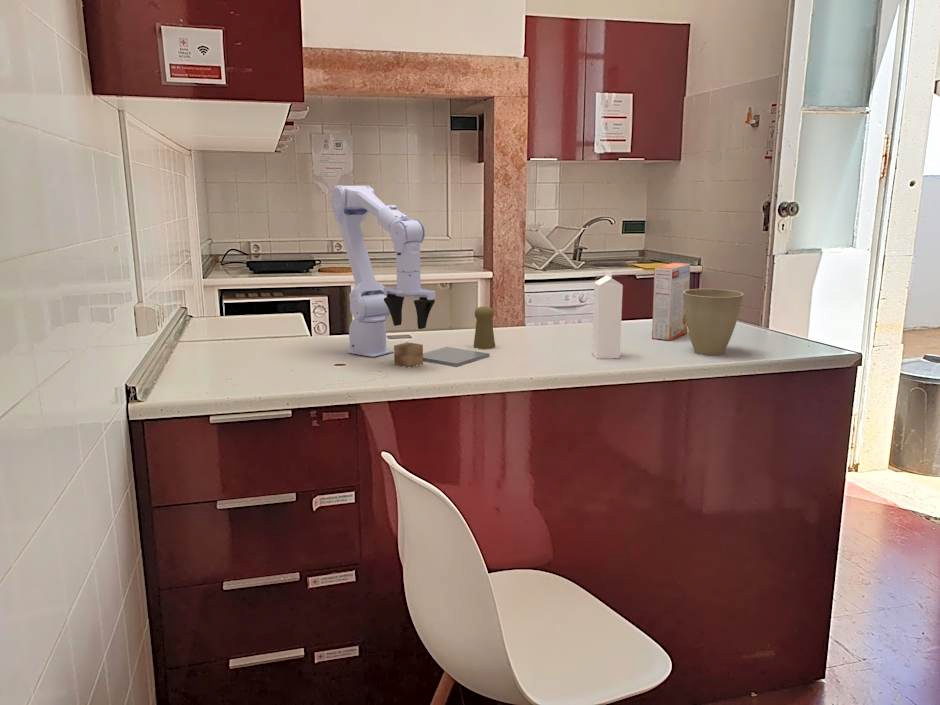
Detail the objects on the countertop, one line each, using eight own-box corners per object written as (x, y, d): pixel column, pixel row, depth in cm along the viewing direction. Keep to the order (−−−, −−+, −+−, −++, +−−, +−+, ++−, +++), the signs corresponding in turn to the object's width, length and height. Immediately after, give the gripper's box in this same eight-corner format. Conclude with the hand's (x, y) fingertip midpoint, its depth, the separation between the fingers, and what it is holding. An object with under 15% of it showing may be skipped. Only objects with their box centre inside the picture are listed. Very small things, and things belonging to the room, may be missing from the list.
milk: (614, 353, 198) (618, 269, 193) (619, 358, 192) (624, 272, 187) (591, 353, 198) (594, 269, 193) (596, 359, 192) (599, 272, 187)
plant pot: (669, 348, 204) (672, 289, 201) (718, 345, 208) (722, 287, 204) (698, 360, 190) (702, 297, 187) (750, 357, 194) (755, 295, 190)
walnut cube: (394, 365, 186) (393, 345, 184) (407, 361, 189) (407, 342, 188) (409, 368, 183) (409, 348, 182) (423, 364, 187) (422, 344, 186)
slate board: (412, 359, 192) (412, 356, 192) (446, 349, 203) (446, 346, 203) (456, 366, 184) (456, 363, 183) (489, 356, 195) (489, 353, 194)
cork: (493, 349, 203) (493, 309, 200) (471, 348, 204) (470, 308, 202) (497, 344, 209) (497, 305, 206) (475, 344, 210) (475, 304, 207)
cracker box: (668, 331, 228) (672, 262, 223) (687, 333, 224) (692, 263, 220) (649, 338, 217) (653, 266, 212) (670, 341, 213) (674, 267, 209)
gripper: (374, 270, 182) (376, 326, 185) (422, 274, 174) (423, 332, 177) (393, 268, 188) (394, 322, 190) (440, 271, 180) (440, 327, 182)
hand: (409, 326), depth 184 cm, fingers open, 7 cm apart
